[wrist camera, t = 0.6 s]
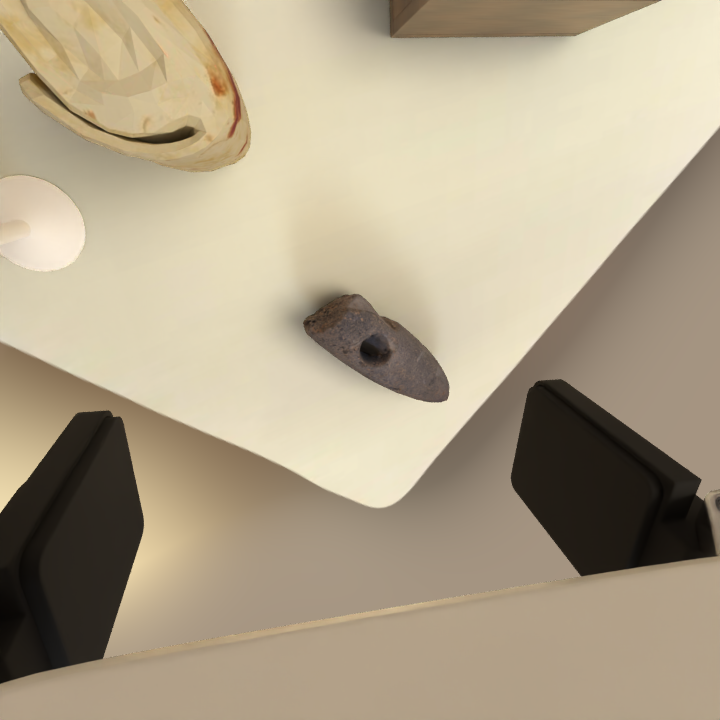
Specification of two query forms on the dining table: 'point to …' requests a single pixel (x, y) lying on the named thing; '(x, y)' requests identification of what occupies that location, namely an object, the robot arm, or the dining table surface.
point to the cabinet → (504, 17)
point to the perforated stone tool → (378, 348)
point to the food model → (131, 78)
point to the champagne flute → (38, 224)
